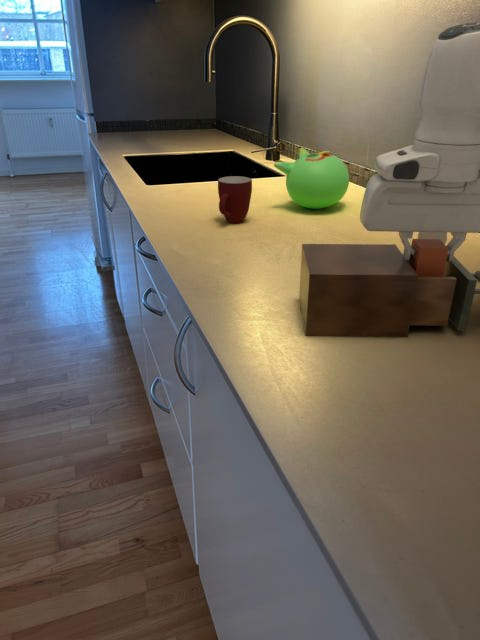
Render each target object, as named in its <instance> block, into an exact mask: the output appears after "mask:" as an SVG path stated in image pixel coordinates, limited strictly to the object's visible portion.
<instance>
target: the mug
mask: <svg viewBox="0 0 480 640" xmlns="http://www.w3.org/2000/svg"><path fill="white" fill-rule="evenodd" d="M217 192H218V199H219V201H218V210H219V213H220V214H221V215H223V216H224V218H225V220H226V222H227V223H230V224H241V223H243V222H244V221H245V219H246V217H247V215H248V214H249V209H250V203H251V199H252V192H253V179H252V178H250V177H247V176H241V175H240V176H239V175H237V176H236V175H234V176H233V175H230V176H223V177H220V178H218V179H217Z"/></svg>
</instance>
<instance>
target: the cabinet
mask: <svg viewBox="0 0 480 640" xmlns="http://www.w3.org/2000/svg"><path fill="white" fill-rule="evenodd" d="M417 277H418V275H417V273H416V272H415V270H414V269H413V268H412V266H411V265H410V264H409V262H408V261H407V260H405V258H404V257H403V253H402V252H401V250H400V249H399V248H398V246H397V245H396V244H384V243H383V244H379V243H378V244H377V243H376V244H375V243H374V244H373V243H372V244H371V243H368V244H367V243H366V244H365V243H364V244H363V243H362V244H361V243H360V244H359V243H301V257H300V276H299V295H298V300H299V301H298V302H299V306H300V312H301V318H302V323H303V330H304V335H305V336H306V337H375V338H376V337H378V338H380V337H381V338H383V337H384V338H387V337H388V338H393V337H394V338H408V336H409V331H410V330H409V329H410V326H411V325H410V319H411V313H412V307H413V301H414V295H415V289H416V284H417Z"/></svg>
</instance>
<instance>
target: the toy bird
mask: <svg viewBox="0 0 480 640" xmlns="http://www.w3.org/2000/svg"><path fill="white" fill-rule="evenodd" d="M330 153H331V150H324V151H318V152H317V151H316V152H315V151H314V152H312V153H310V152H309V151H308V150H307V149H305V148H304V147H300V148H299V150H298V156H299V157H298V158H297V159H296V160H295V161H294V162H287V161H276V162H274V163H273V166H274V168H275V169H276V170H279V171H280V172H281V173H284V174H285V175H286V177H285V185H286V192H287V193H288V195H289V197H290V198H291V199H292V201H293V202H294V203H296V204H297V205H299V206H301V207H303V208H306V209H313V210H314V209H315V210H318V209H325V208H329V207H332V206H333V205H335V204H336V203H338V202H339V201H341V200H342V199H343V198H344V196H345V195H346V194H347V191H348V189H349V186H350V174H349V170H348V167H347V166H346V164H345V162H344V161H342V159H341V158H339V157H338V156H336V155H334V154H330Z"/></svg>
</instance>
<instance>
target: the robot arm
mask: <svg viewBox="0 0 480 640" xmlns="http://www.w3.org/2000/svg"><path fill="white" fill-rule="evenodd" d="M419 109H420V116H419V117H420V118H419V122H418V126H417V128H416V130H415V132H414V136H413V140H412V144H411V145H407V146H404V147H402V148H398V149H395V150H392V151H387V152H385V153H381V154H379V155H377V156H376V158H375V161H374V169H375V172H377V173H375V174H374V175H372V176H371V177H370V179H369V180H368V182H367V184H366V186H365V189H364V193H363V197H362V201H361V206H360V211H359V221H360V223H361V225H362V226H363V227H364V229H365V230H366V231H367V232H391V233H393V232H395V233H398V236H399V238H400V240H401V243H402V245H403V253H402V254H403V257H404V258H405V260H407V261H415V258H416V253H417V250H416V248H415V247H414V246H411V245H412V244H411V243H410V241H409V240H412V239H413V235H414V233H419V232H447V233H449V234H450V235H451V236H452V238H451V239H450V241H449V242H448V243H447V244H446V246H447V248H448V254H447V259H446V261H450V262H451V261H452V260H453V256H454V257H455V252H456V251H457V250H458V249H459V248H460V247H461V245H462V244H463V243H464V242H465V241H466V239H467V235H468V234H480V21H476V22H471V23H469V22H467V23H462V24H461V23H460V24H458V25H454V26H450V27H448V28H446V29H445V30H442V31H441V32H440V33H439V34H438V35H437V37H436V39H435V40H434V43H433V45H432V47H431V49H430V53H429V55H428V59H427V63H426V67H425V71H424V76H423V81H422V86H421V92H420V98H419Z"/></svg>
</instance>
